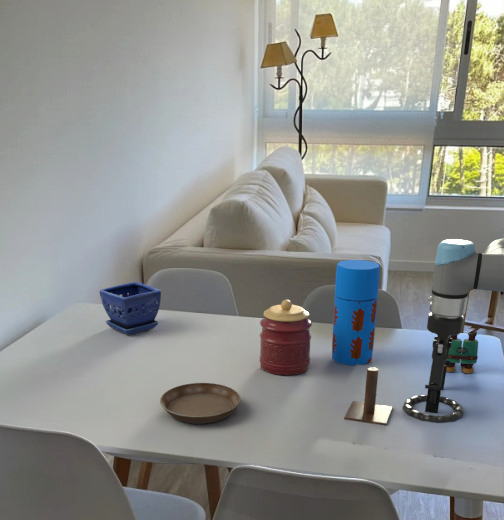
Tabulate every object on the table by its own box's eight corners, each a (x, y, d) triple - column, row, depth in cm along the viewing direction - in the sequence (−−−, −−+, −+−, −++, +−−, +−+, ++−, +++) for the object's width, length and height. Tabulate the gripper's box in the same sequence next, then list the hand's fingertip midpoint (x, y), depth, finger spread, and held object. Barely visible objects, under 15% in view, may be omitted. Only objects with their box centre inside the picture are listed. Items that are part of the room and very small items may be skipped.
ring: (464, 406, 160) (465, 398, 159) (460, 430, 149) (461, 421, 148) (406, 398, 164) (407, 390, 163) (398, 421, 153) (399, 413, 152)
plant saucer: (213, 435, 146) (213, 422, 145) (144, 416, 154) (143, 404, 153) (254, 404, 160) (254, 392, 159) (189, 389, 168) (189, 377, 167)
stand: (392, 412, 157) (397, 364, 152) (385, 429, 149) (390, 379, 144) (352, 406, 160) (356, 359, 155) (343, 423, 152) (347, 373, 147)
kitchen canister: (288, 354, 190) (290, 290, 182) (320, 368, 180) (323, 301, 173) (249, 364, 183) (249, 298, 175) (280, 380, 173) (282, 310, 166)
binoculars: (478, 325, 182) (483, 334, 173) (472, 364, 186) (477, 375, 177) (442, 323, 184) (445, 331, 174) (438, 362, 187) (440, 372, 178)
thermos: (378, 356, 189) (387, 263, 178) (361, 368, 181) (369, 271, 170) (342, 348, 194) (348, 257, 183) (324, 360, 186) (329, 265, 175)
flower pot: (126, 339, 200) (123, 298, 195) (101, 327, 209) (97, 288, 204) (164, 329, 208) (162, 289, 203) (138, 318, 217) (136, 280, 212)
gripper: (434, 296, 164) (423, 381, 173) (422, 328, 142) (410, 423, 152) (468, 300, 162) (455, 385, 171) (460, 333, 140) (446, 428, 150)
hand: (434, 403), depth 161 cm, fingers open, 13 cm apart
